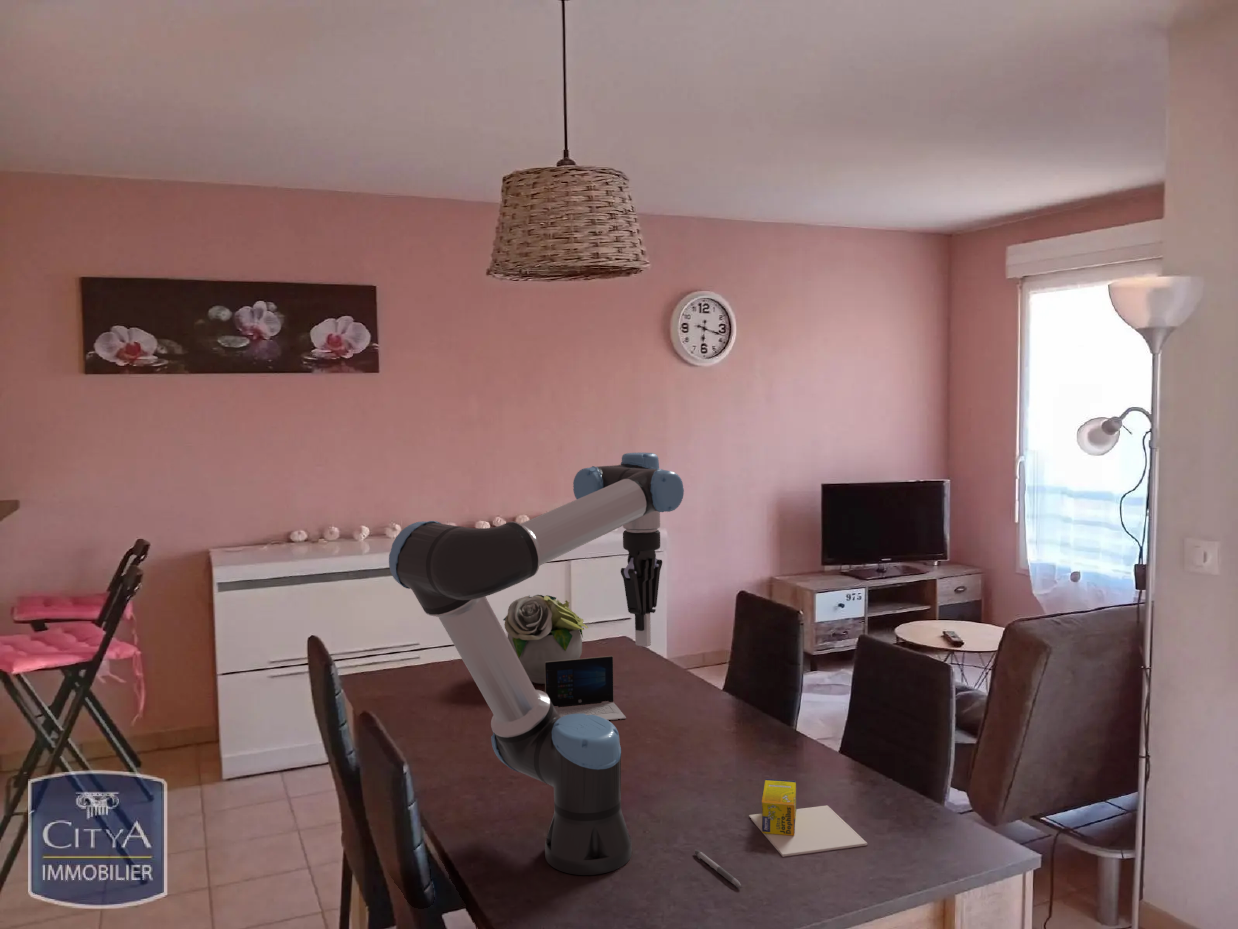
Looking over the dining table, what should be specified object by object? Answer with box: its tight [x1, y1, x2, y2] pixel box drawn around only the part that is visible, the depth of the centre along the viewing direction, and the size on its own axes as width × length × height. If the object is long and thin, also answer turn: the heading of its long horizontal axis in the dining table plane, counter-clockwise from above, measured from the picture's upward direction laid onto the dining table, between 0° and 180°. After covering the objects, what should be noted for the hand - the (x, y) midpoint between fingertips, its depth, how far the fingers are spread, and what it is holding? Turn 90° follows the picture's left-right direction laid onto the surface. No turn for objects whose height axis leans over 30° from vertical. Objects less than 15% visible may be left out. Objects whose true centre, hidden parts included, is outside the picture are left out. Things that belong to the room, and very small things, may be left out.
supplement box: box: [760, 778, 797, 836], centre depth 177 cm, size 6×6×11 cm
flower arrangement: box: [502, 594, 589, 685], centre depth 268 cm, size 25×25×24 cm
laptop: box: [544, 655, 627, 721], centre depth 239 cm, size 18×12×13 cm
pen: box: [694, 849, 742, 888], centre depth 160 cm, size 1×14×1 cm, turn 27°
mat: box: [748, 805, 868, 858], centre depth 175 cm, size 16×16×1 cm
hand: (643, 645), depth 193 cm, fingers closed
